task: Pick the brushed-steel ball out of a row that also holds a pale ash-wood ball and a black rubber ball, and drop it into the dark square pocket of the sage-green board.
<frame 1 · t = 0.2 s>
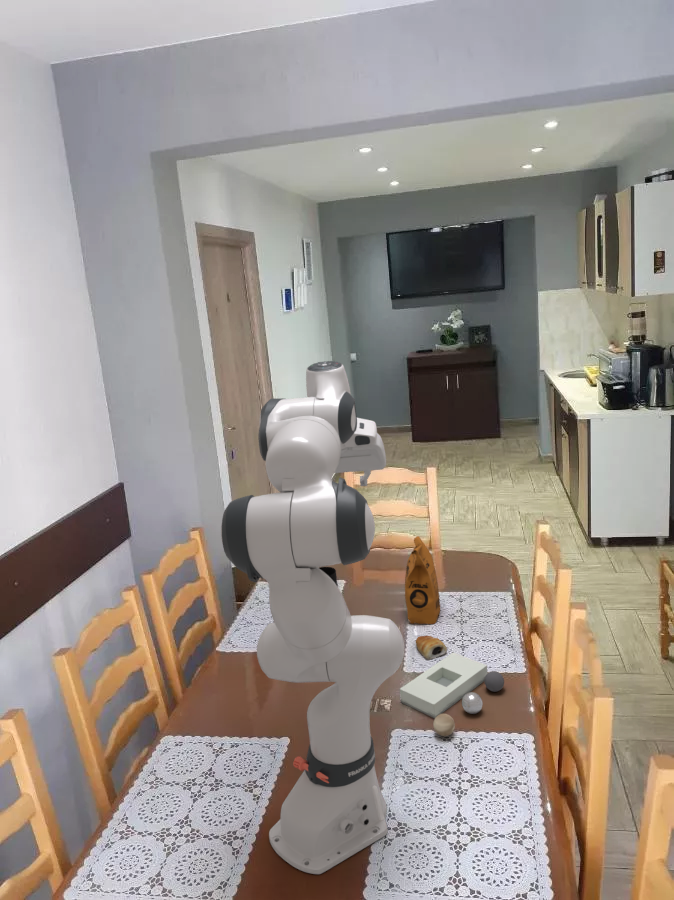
hand: (342, 486, 158), 52 cm above the table, fingers open, 8 cm apart
pastry: (430, 652, 187), on the table
ash ball: (444, 724, 152), point 2 cm above the table
steel ball: (472, 702, 159), point 2 cm above the table
coffee package: (423, 616, 206), on the table
rubber ball: (494, 681, 166), point 2 cm above the table
pocket board: (445, 690, 169), on the table
glass holder: (327, 625, 206), on the table
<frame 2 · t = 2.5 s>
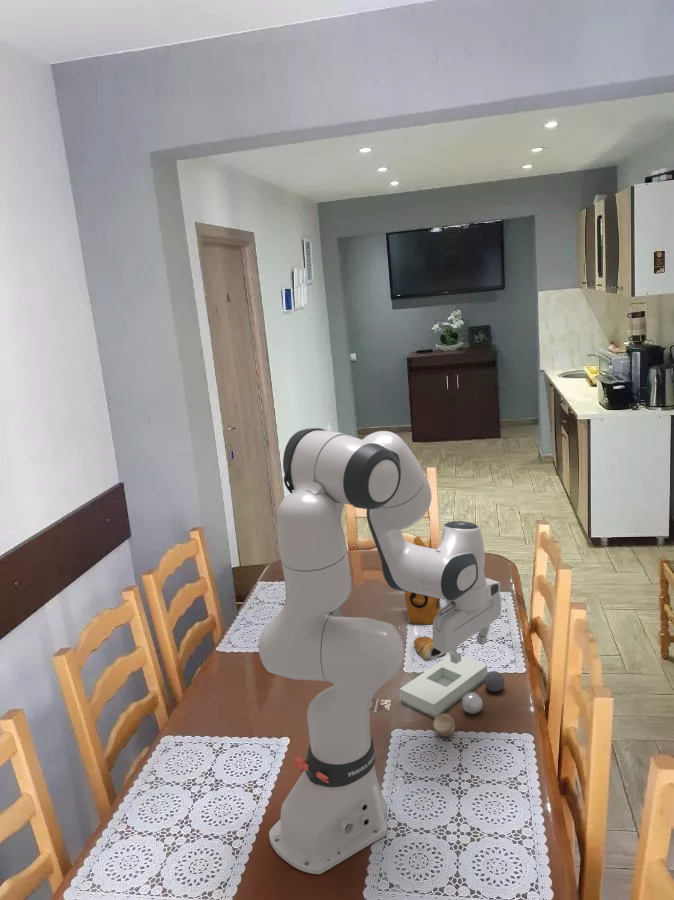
hand: (469, 652, 156), 15 cm above the table, fingers open, 8 cm apart
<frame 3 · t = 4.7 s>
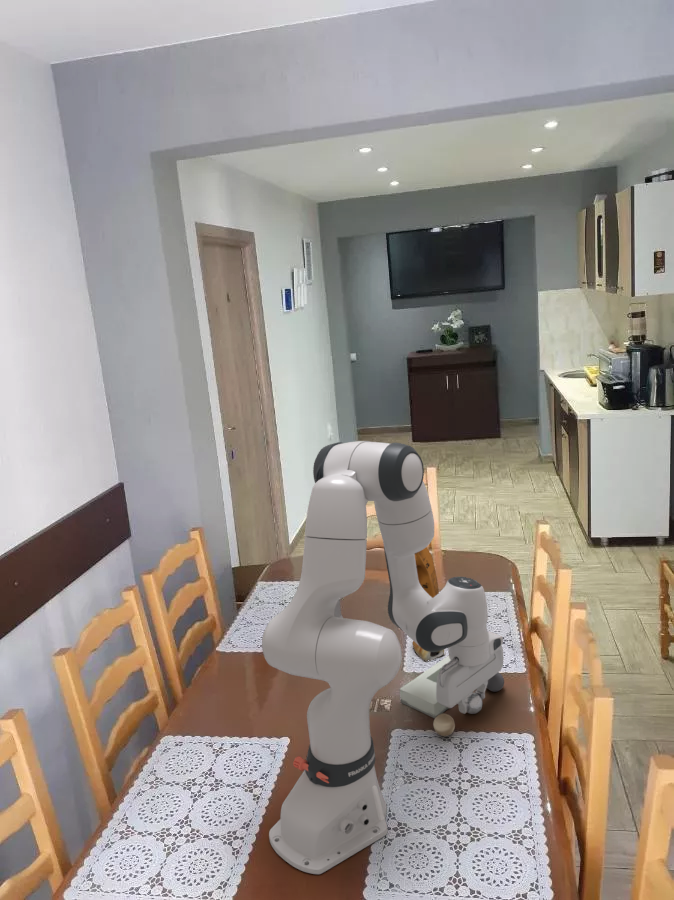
hand: (472, 705, 159), 2 cm above the table, fingers closed on steel ball, 4 cm apart
steel ball: (472, 702, 159), point 2 cm above the table, touching gripper
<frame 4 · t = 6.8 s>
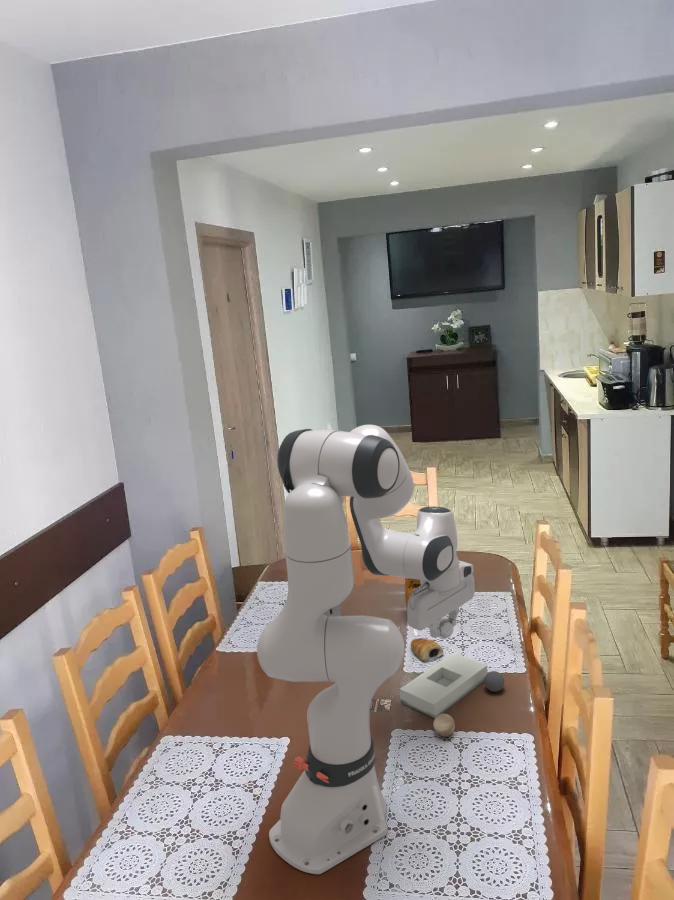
hand: (443, 631, 165), 15 cm above the table, fingers closed on steel ball, 4 cm apart
steel ball: (443, 628, 164), point 16 cm above the table, touching gripper
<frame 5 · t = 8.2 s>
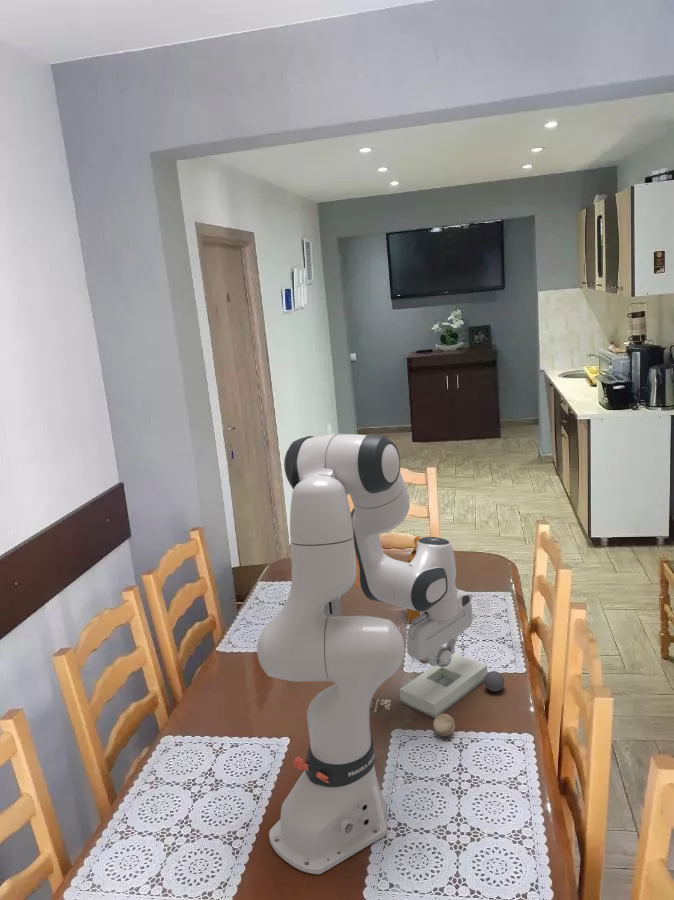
hand: (442, 659, 167), 8 cm above the table, fingers closed on steel ball, 4 cm apart
steel ball: (442, 656, 167), point 9 cm above the table, touching gripper
when the fingers open (7 cm above the table, at t = 9.3 s): steel ball drops 4 cm, resting on pocket board.
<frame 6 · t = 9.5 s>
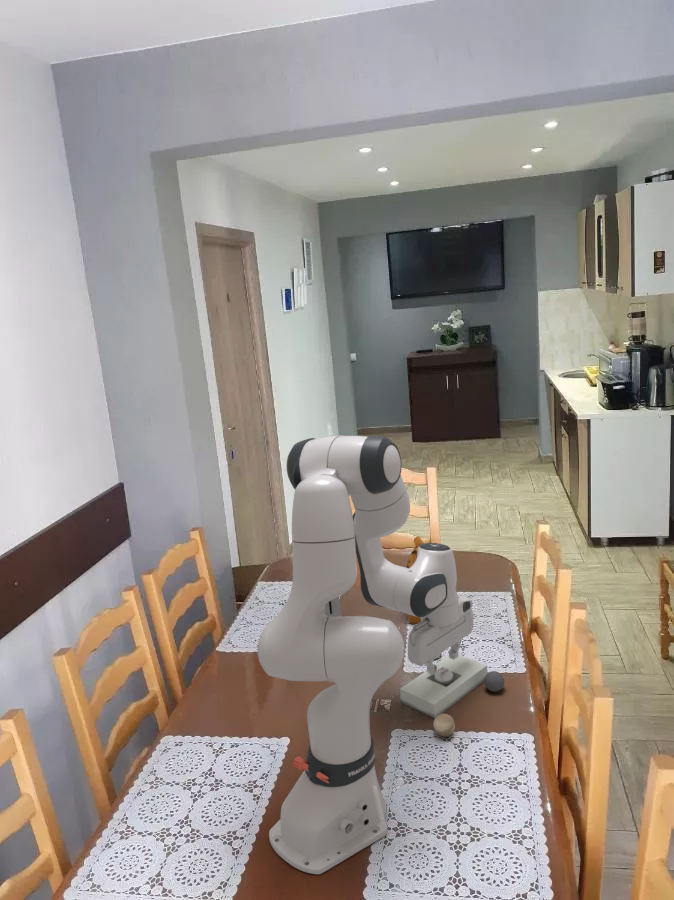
hand: (443, 665, 167), 7 cm above the table, fingers open, 7 cm apart
steel ball: (444, 677, 168), point 3 cm above the table, touching pocket board
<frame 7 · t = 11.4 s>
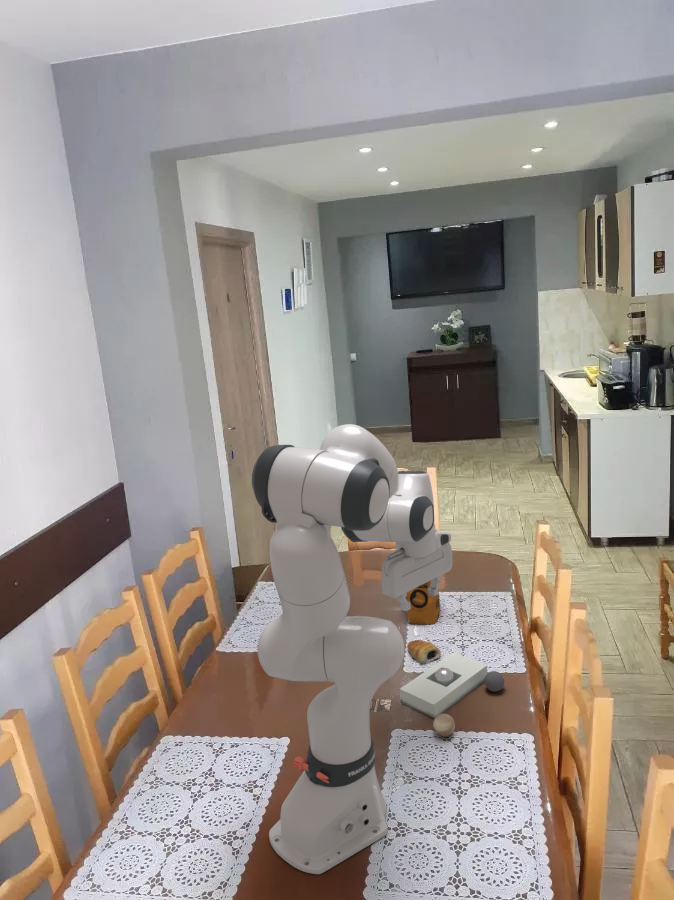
hand: (419, 602, 158), 25 cm above the table, fingers open, 8 cm apart
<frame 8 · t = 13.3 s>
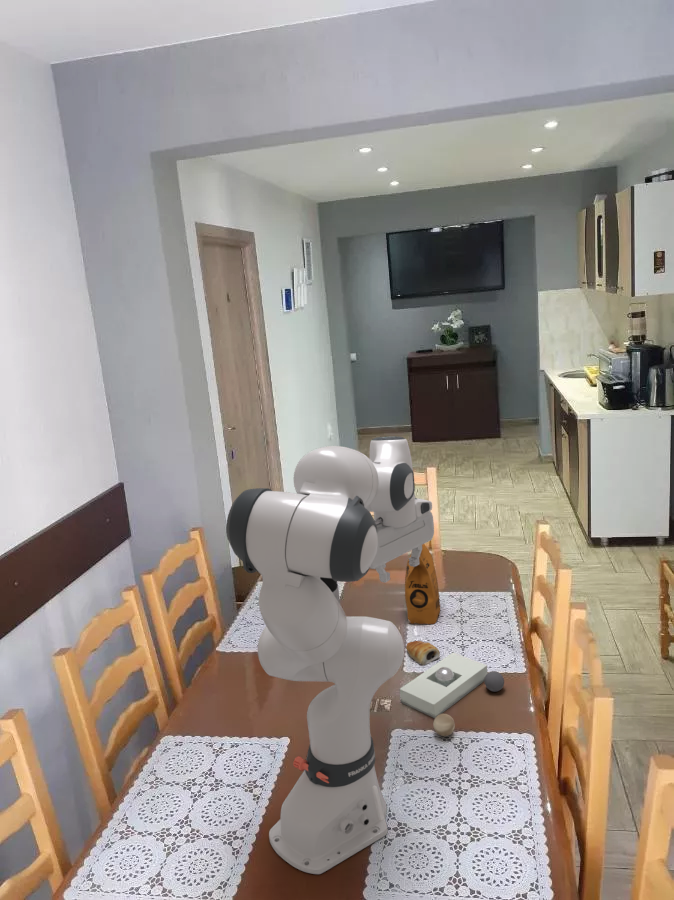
hand: (400, 573, 153), 34 cm above the table, fingers open, 8 cm apart
at the end: steel ball 0.3 cm off-centre on the pocket board, point 3.2 cm above the pocket board's base; the gripper is holding nothing; ash ball moved 0.0 cm from its start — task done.
